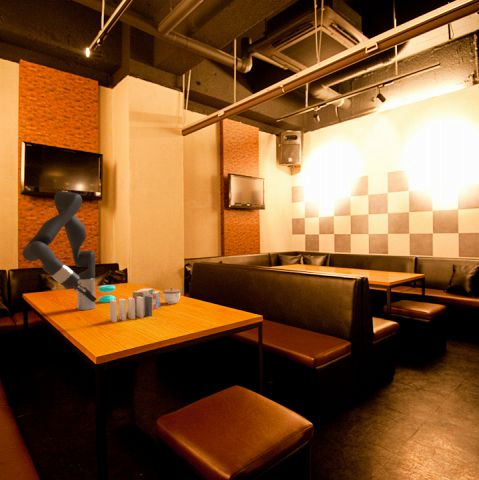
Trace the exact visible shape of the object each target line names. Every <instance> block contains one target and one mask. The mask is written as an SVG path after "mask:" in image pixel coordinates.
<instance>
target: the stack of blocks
mask: <svg viewBox="0 0 479 480" xmlns="http://www.w3.org/2000/svg"><path fill="white" fill-rule="evenodd" d="M147 295H148V296H151V297H152V312H153V311H154V310H157V309H158V308H160V307H161V291H160V290H155V291H154V288H140V289H138V290H134V291H133V292H132V298H134V299H135V316H137V297H139V296H140V297H143V298H144V316H146V315H145V296H147Z"/></svg>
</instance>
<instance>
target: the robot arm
mask: <svg viewBox="0 0 479 480" xmlns="http://www.w3.org/2000/svg"><path fill="white" fill-rule="evenodd" d="M53 201H54V206H55V209H56V210H57V213H58V214H57V215H54V216H53V217H51V218H49V219H47V220H46V221H45V222H44V223H43V224H42V225H41V226H40V228H39V229H38V231H37V232H36V234H35V236H34V237H33V238H31V240H30V241H28V243H27V244H26V245H25V246H24V248H23V250H22V257H23V258H24V259H25V260H26V261H28V262H35V261H39V262H41V263H42V265H41V269H43V271H44V272H46V273H47V274H48V275H49V276H50V277H52V278H53V279H54V281H56V282H57V283H59V284H60V285H61V286H62V287H64V289H66V290H70V289H72V288H73V290H74V291H75V292H77V310H78V311H81V310H82V311H86V310H87V311H88V310H92V309H95V308H96V301H97V298H96V252H95V251H94V250H81V249H80V248H81V246H83V244H84V243H85V241H86V239H87V232H86V228H85V225H84V224H83V222H81V220H80V219H79V218H78V217H77V216H76V214H77V213H78V211H80V209H81V208H82V206H83V198H82V196H81V194H79V193H76V192H71V191H65V190H60V191H59V190H58V191H57V192H56V193H55V194H54V200H53ZM63 227H64V230H65V235H66V237H67V240H68V242H69V245H70V249H71V252H72V259H73V262H74V263H73V264H74V265H75V266H76V267H79V268H87V269H86V270H85V271H81V272H79V273H76V272H75V271H74V270H72V268H71V267H69V266H68V265H66V264H65V263H63V262H62V261H61V260H60V259H58V258H57V256H56V255H55V254H54V252H53V251H52V249H51V248H50V247H49V246H50V244H51V243H52V242H54V241H55V238H57V236H58V234H59V233H60V231H61V230H62V228H63Z"/></svg>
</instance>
